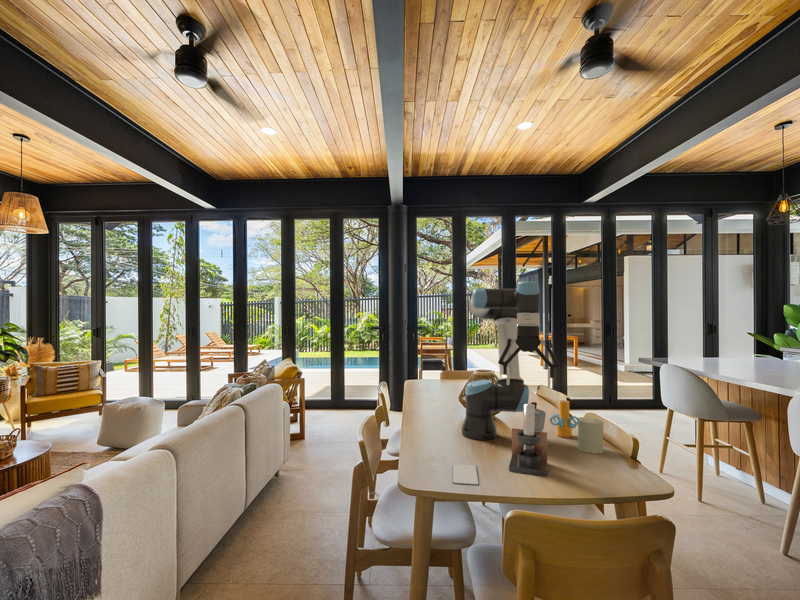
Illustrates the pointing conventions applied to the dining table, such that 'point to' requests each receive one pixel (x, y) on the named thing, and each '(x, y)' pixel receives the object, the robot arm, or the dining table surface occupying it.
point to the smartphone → (464, 474)
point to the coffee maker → (538, 418)
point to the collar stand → (529, 464)
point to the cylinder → (564, 420)
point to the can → (590, 435)
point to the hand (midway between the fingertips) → (528, 386)
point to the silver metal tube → (529, 428)
